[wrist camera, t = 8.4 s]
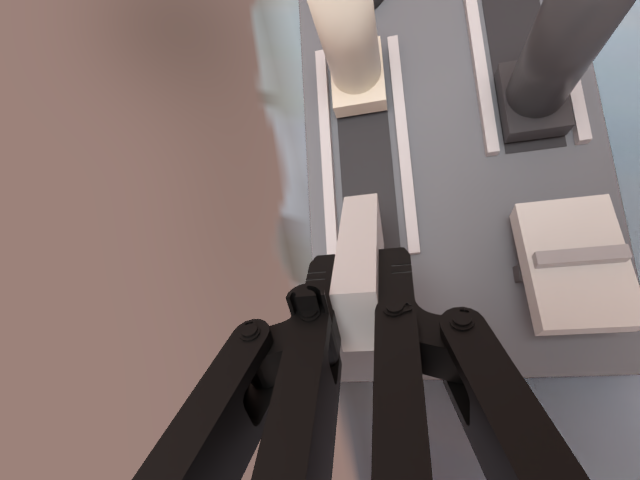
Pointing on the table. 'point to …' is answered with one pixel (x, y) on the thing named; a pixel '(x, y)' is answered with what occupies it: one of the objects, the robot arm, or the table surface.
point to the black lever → (553, 66)
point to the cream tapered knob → (351, 54)
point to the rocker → (576, 266)
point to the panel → (458, 173)
